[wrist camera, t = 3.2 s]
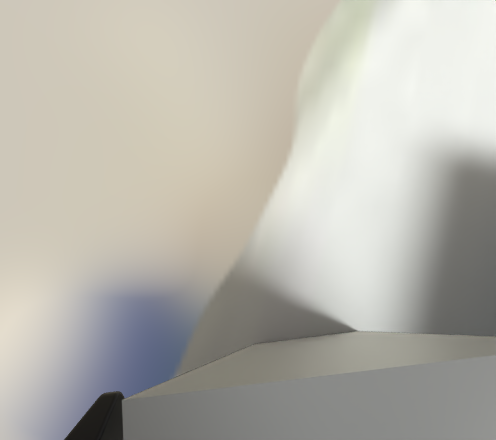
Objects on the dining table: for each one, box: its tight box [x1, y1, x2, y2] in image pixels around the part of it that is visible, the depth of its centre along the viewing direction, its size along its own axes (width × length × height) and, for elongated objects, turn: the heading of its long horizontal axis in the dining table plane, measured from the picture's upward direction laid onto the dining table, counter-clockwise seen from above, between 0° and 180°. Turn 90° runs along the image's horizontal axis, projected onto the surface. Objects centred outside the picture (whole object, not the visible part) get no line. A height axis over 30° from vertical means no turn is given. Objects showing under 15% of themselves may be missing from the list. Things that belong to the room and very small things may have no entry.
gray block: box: [122, 331, 496, 440], centre depth 9 cm, size 4×4×13 cm
